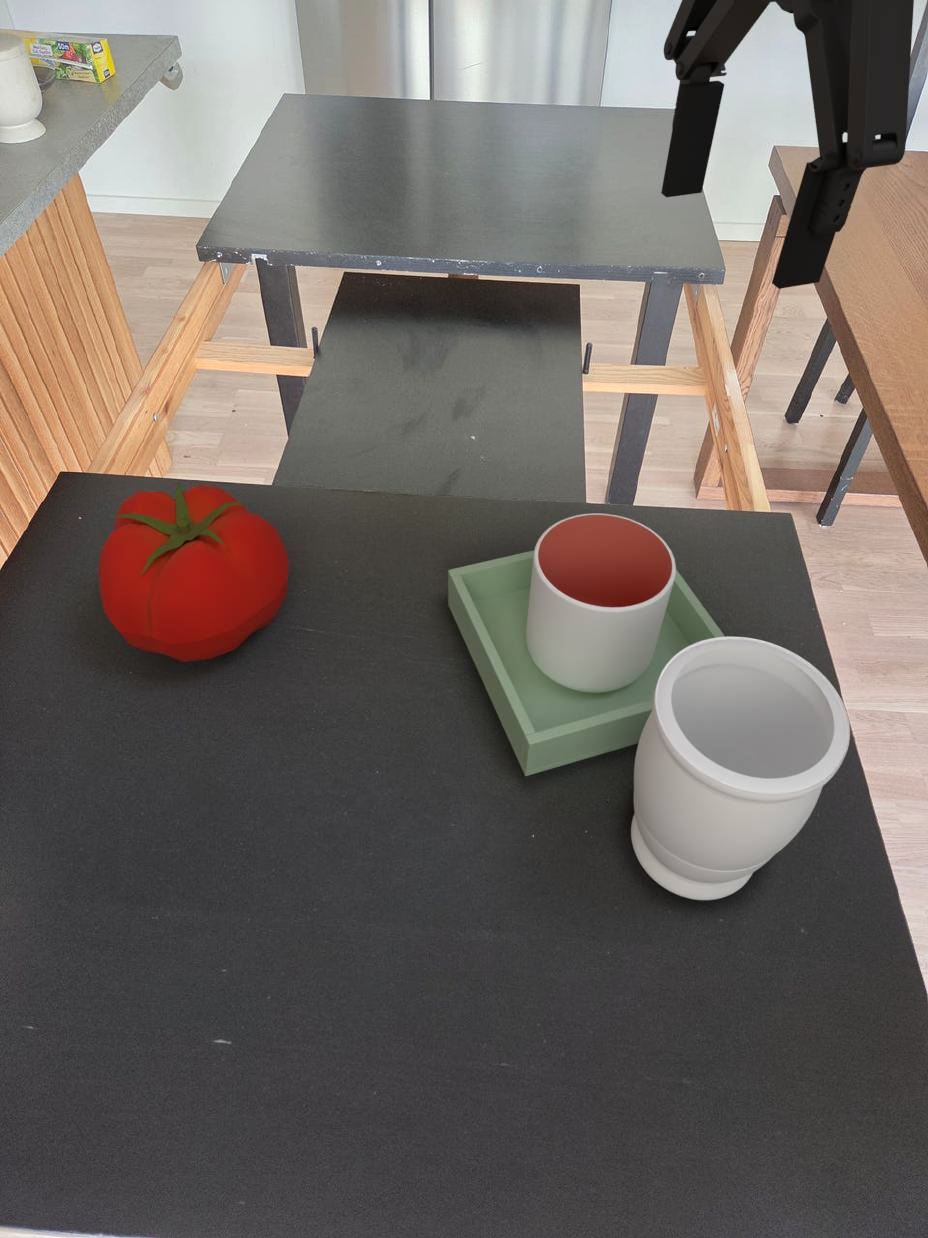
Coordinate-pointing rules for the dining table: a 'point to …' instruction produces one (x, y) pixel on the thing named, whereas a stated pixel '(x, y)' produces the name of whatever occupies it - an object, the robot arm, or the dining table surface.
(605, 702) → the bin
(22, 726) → the dining table surface
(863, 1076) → the dining table surface
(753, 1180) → the dining table surface
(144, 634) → the tomato
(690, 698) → the jar
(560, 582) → the cup
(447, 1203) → the dining table surface
